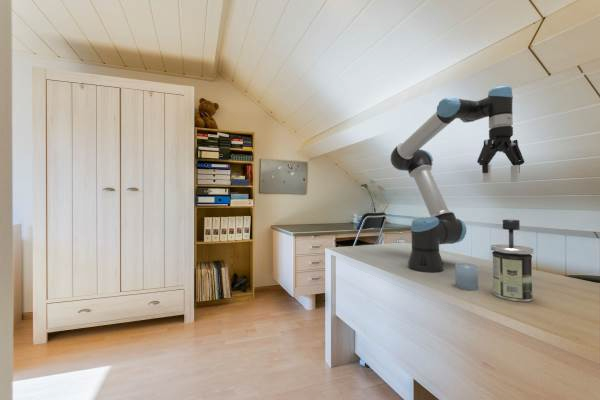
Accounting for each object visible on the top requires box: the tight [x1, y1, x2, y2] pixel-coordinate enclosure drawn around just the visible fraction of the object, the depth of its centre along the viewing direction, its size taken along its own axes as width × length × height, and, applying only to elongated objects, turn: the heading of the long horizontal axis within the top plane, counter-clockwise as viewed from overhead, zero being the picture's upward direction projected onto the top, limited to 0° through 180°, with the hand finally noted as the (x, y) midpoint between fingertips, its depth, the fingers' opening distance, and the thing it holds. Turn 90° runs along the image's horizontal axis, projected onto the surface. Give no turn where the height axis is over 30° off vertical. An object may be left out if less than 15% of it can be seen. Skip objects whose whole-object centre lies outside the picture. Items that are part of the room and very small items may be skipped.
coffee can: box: [491, 250, 533, 303], centre depth 88 cm, size 10×10×14 cm
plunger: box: [490, 219, 534, 255], centre depth 88 cm, size 11×11×10 cm
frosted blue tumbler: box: [454, 262, 479, 292], centre depth 97 cm, size 7×7×8 cm
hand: (501, 181), depth 104 cm, fingers open, 13 cm apart
